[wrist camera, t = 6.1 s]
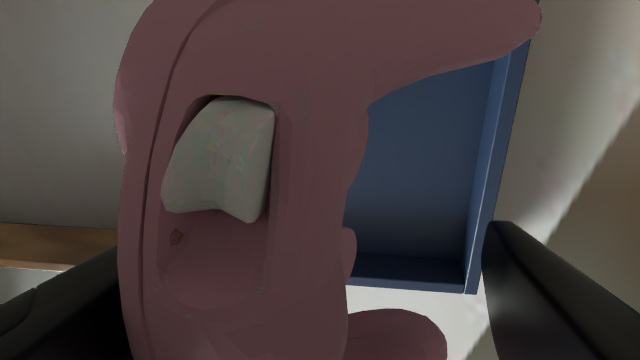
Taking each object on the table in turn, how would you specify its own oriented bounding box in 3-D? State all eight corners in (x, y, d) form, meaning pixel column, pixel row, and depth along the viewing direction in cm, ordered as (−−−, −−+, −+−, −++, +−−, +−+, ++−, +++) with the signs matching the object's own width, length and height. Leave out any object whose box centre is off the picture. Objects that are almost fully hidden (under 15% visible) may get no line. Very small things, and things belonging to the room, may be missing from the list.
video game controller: (336, -48, 9) (-45, -45, 4) (566, -34, 7) (360, 5, 2) (320, 287, 14) (137, 476, 9) (453, 355, 12) (310, 654, 7)
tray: (261, 247, 19) (248, 278, 17) (217, -117, 12) (190, -126, 11) (468, 261, 18) (476, 295, 16) (542, -133, 11) (571, -147, 9)
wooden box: (-42, 227, 21) (-91, 260, 19) (-220, -96, 14) (-327, -102, 12) (250, 246, 19) (233, 285, 17) (201, -117, 12) (162, -128, 10)
